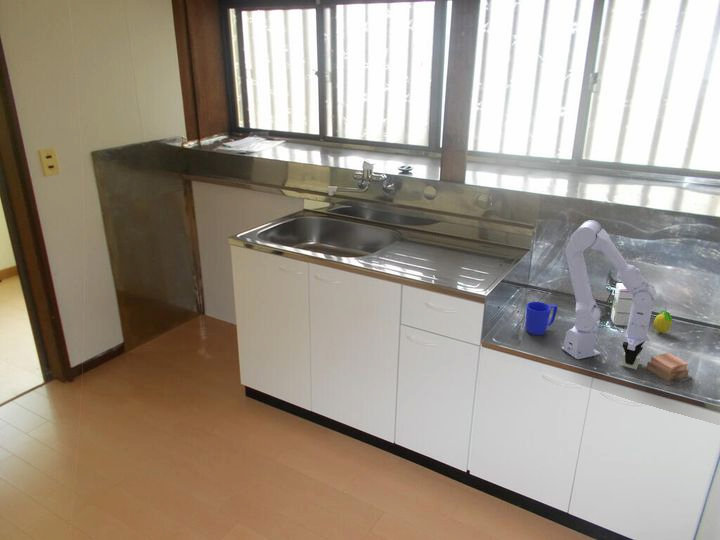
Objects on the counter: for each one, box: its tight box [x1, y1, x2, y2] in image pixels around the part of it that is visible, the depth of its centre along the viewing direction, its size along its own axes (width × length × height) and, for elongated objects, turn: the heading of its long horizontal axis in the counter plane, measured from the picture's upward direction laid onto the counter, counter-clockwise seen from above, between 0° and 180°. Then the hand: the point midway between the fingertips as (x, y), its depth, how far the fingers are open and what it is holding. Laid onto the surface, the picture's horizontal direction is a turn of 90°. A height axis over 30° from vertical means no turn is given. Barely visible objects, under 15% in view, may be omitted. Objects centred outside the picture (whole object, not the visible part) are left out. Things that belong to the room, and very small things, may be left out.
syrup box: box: [610, 282, 633, 327], centre depth 202 cm, size 6×6×14 cm
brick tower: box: [640, 352, 693, 386], centre depth 171 cm, size 10×10×5 cm
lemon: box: [653, 307, 673, 334], centre depth 195 cm, size 7×6×10 cm
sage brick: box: [620, 351, 642, 370], centre depth 177 cm, size 4×4×4 cm
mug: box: [525, 301, 558, 336], centre depth 197 cm, size 8×12×10 cm
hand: (630, 360), depth 177 cm, fingers closed on sage brick, 4 cm apart
